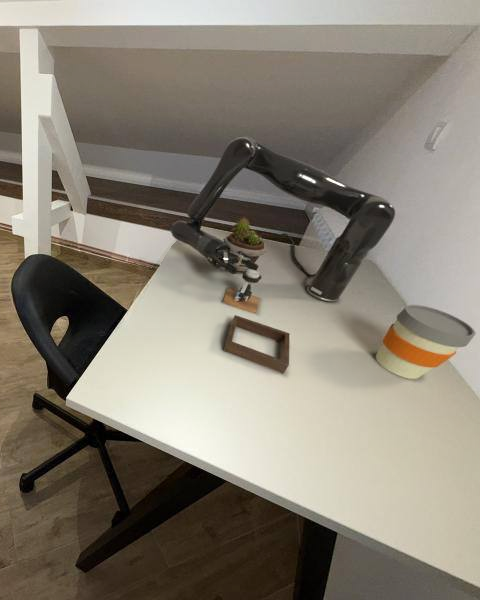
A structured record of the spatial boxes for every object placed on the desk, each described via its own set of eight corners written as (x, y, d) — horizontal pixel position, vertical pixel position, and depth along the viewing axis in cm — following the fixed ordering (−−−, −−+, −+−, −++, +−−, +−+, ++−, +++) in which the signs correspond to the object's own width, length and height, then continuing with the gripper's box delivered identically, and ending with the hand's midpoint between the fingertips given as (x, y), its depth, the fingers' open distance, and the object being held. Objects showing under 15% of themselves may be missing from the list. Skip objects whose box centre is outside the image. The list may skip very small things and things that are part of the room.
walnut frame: (231, 323, 90) (234, 314, 89) (284, 341, 85) (289, 333, 83) (223, 350, 80) (227, 341, 78) (283, 373, 75) (289, 365, 73)
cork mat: (227, 289, 106) (227, 288, 106) (258, 298, 103) (259, 297, 102) (222, 302, 99) (223, 301, 99) (256, 313, 95) (256, 312, 95)
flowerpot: (250, 261, 126) (271, 213, 115) (259, 279, 114) (283, 227, 103) (213, 255, 128) (230, 208, 117) (218, 272, 116) (237, 221, 105)
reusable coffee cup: (428, 366, 81) (474, 321, 72) (430, 393, 73) (481, 346, 64) (369, 342, 87) (404, 298, 79) (364, 364, 80) (403, 318, 71)
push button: (241, 306, 97) (253, 278, 92) (226, 297, 101) (237, 270, 95) (253, 301, 100) (266, 274, 95) (239, 293, 104) (250, 266, 98)
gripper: (198, 239, 105) (233, 261, 93) (231, 236, 110) (268, 257, 97) (192, 259, 109) (224, 283, 97) (224, 256, 114) (258, 277, 102)
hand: (246, 270), depth 97 cm, fingers open, 8 cm apart
